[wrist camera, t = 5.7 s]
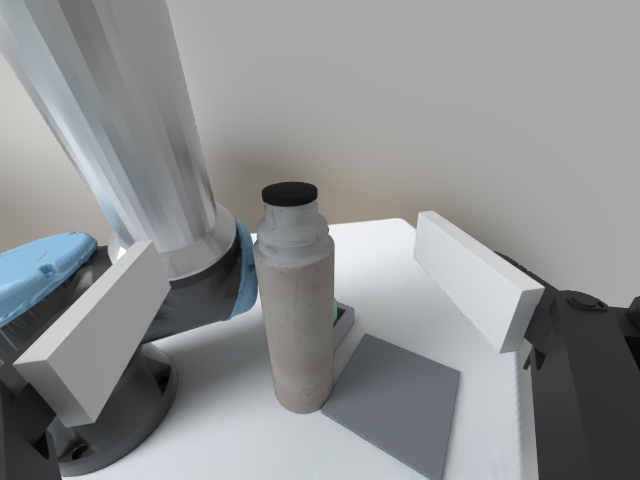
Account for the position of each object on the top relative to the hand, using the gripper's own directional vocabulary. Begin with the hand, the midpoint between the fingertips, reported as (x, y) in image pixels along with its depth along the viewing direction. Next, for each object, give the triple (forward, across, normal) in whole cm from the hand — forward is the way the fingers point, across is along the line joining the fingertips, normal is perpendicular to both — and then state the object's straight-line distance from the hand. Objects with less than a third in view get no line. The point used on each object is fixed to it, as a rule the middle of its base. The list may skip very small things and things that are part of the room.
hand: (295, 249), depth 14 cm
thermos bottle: (+12, -1, -28) cm, 31 cm away
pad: (+9, +11, -28) cm, 32 cm away
